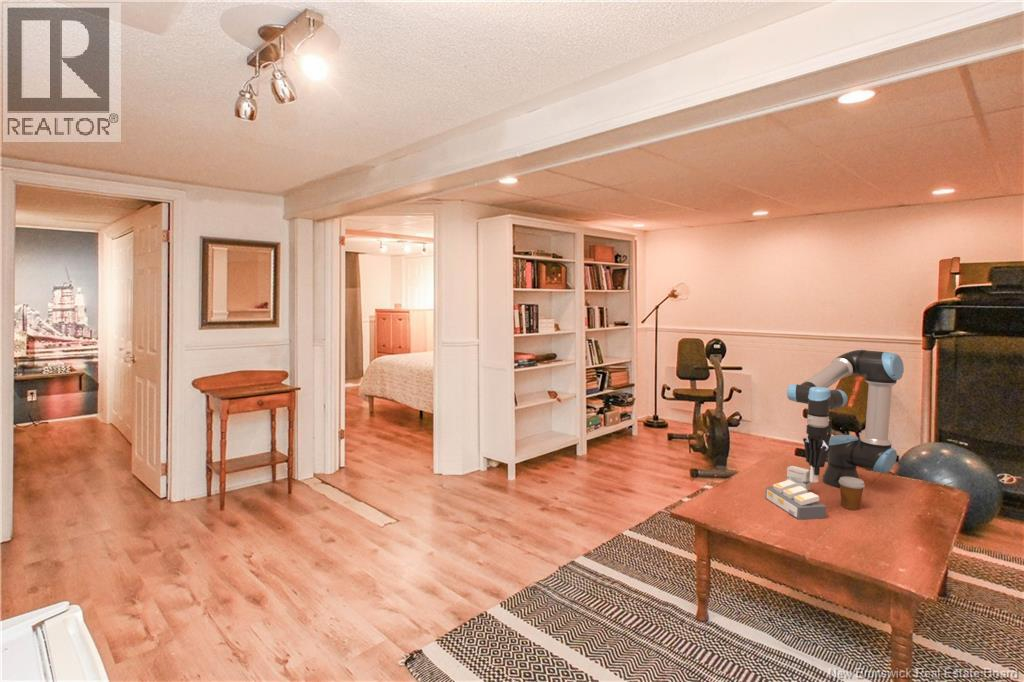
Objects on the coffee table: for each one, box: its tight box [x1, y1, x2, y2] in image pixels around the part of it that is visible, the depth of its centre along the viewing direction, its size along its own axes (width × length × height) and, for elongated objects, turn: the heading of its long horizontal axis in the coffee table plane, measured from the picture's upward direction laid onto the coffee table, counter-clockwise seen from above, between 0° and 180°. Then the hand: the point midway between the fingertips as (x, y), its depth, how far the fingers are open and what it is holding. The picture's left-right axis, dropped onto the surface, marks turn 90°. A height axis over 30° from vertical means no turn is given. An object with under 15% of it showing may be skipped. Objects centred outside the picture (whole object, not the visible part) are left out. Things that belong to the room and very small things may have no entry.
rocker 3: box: [794, 491, 820, 506], centre depth 218 cm, size 8×4×2 cm, turn 97°
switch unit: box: [765, 486, 827, 521], centre depth 225 cm, size 13×22×6 cm, turn 8°
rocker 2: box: [783, 486, 808, 499], centre depth 225 cm, size 8×4×2 cm, turn 97°
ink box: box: [786, 465, 811, 493], centre depth 241 cm, size 8×5×12 cm, turn 39°
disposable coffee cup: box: [839, 477, 866, 511], centre depth 226 cm, size 10×10×12 cm
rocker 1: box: [772, 479, 797, 493], centre depth 232 cm, size 8×4×2 cm, turn 97°
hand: (813, 481), depth 218 cm, fingers closed
